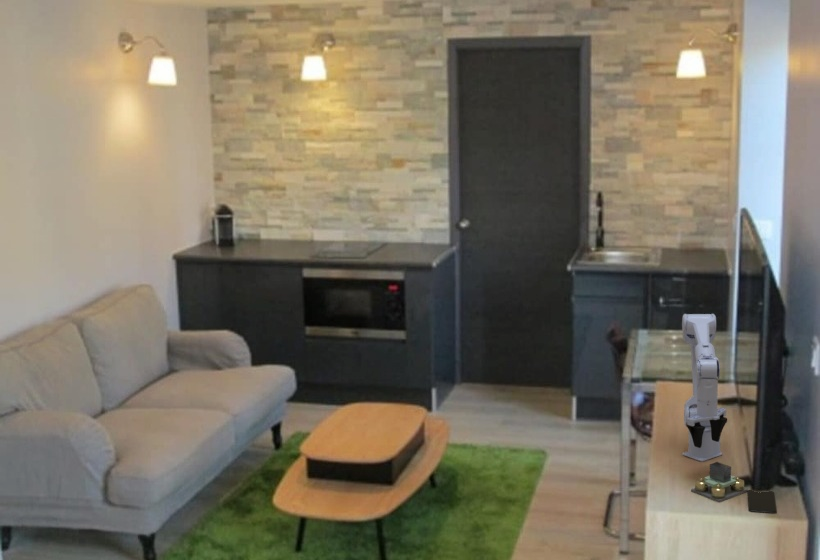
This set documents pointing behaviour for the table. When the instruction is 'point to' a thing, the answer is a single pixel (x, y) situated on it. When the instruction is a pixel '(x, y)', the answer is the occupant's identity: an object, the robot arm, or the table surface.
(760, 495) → the smartphone
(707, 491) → the chassis
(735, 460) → the table surface
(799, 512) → the table surface
